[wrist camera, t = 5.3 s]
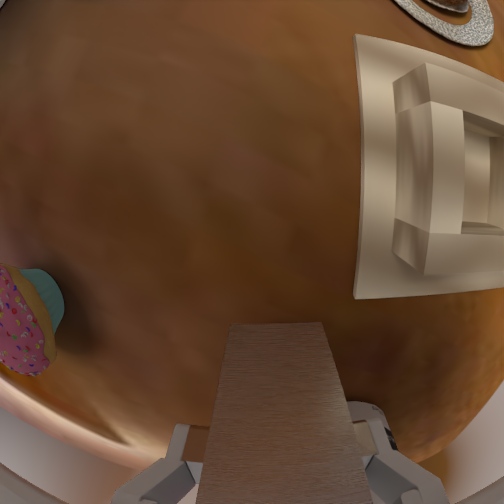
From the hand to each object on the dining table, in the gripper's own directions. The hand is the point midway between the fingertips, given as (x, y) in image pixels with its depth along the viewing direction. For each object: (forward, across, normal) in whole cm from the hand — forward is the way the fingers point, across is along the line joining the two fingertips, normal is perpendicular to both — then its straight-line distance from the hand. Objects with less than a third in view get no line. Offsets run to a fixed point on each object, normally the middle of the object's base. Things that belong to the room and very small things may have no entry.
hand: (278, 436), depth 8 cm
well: (+10, -12, -9) cm, 18 cm away
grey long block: (+5, 0, 0) cm, 5 cm away
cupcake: (+10, +18, 0) cm, 20 cm away
